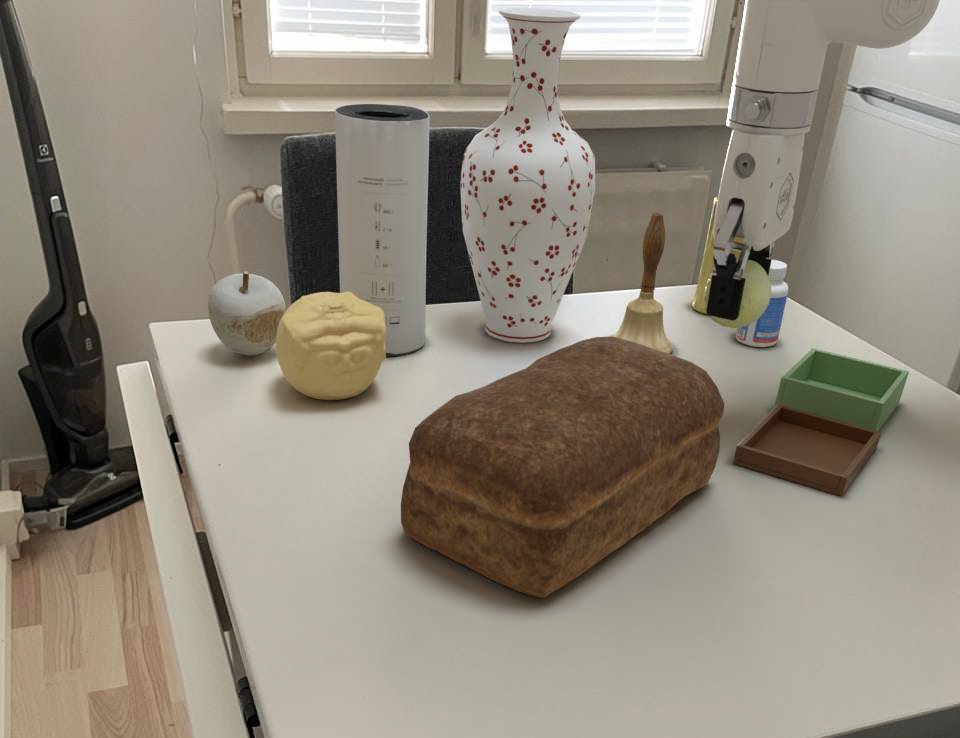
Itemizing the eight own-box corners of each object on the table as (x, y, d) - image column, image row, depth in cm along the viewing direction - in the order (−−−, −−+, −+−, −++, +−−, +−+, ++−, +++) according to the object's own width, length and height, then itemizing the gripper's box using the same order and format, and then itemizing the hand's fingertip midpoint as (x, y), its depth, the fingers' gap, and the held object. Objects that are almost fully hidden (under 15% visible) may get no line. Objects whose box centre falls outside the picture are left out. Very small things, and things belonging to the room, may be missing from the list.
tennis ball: (774, 337, 99) (788, 268, 95) (711, 339, 98) (723, 271, 94) (749, 314, 104) (761, 249, 100) (689, 317, 103) (699, 251, 99)
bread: (724, 483, 97) (752, 352, 89) (538, 616, 78) (553, 466, 70) (581, 429, 105) (596, 305, 97) (381, 538, 86) (379, 395, 78)
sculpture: (296, 417, 104) (289, 316, 98) (267, 374, 113) (259, 278, 106) (398, 403, 108) (398, 304, 102) (363, 362, 117) (360, 269, 110)
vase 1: (450, 308, 133) (458, 0, 112) (568, 309, 135) (598, 6, 114) (461, 354, 120) (473, 16, 99) (591, 354, 122) (630, 23, 101)
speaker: (433, 331, 126) (437, 101, 110) (418, 361, 118) (420, 118, 102) (352, 323, 127) (344, 95, 111) (331, 353, 119) (320, 111, 103)
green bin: (898, 404, 114) (909, 371, 112) (872, 438, 107) (883, 403, 104) (804, 380, 119) (812, 347, 116) (773, 411, 111) (781, 377, 109)
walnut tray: (876, 449, 105) (881, 431, 103) (841, 496, 96) (847, 478, 95) (774, 421, 109) (778, 404, 108) (732, 463, 100) (736, 445, 99)
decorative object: (249, 334, 123) (241, 251, 116) (303, 351, 119) (298, 266, 113) (196, 355, 117) (185, 268, 110) (251, 374, 113) (243, 285, 107)
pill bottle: (782, 339, 130) (800, 263, 124) (768, 351, 126) (786, 273, 120) (742, 329, 132) (758, 254, 126) (728, 341, 128) (743, 264, 122)
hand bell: (593, 345, 125) (609, 212, 115) (632, 330, 130) (650, 201, 120) (647, 365, 120) (668, 228, 111) (685, 348, 125) (708, 216, 116)
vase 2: (744, 310, 138) (766, 201, 130) (720, 319, 134) (742, 208, 126) (707, 298, 141) (726, 192, 133) (683, 308, 138) (701, 198, 129)
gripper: (779, 129, 82) (739, 340, 93) (840, 101, 94) (798, 291, 105) (694, 118, 85) (666, 323, 96) (764, 92, 97) (731, 277, 108)
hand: (735, 305), depth 100 cm, fingers closed on tennis ball, 6 cm apart
